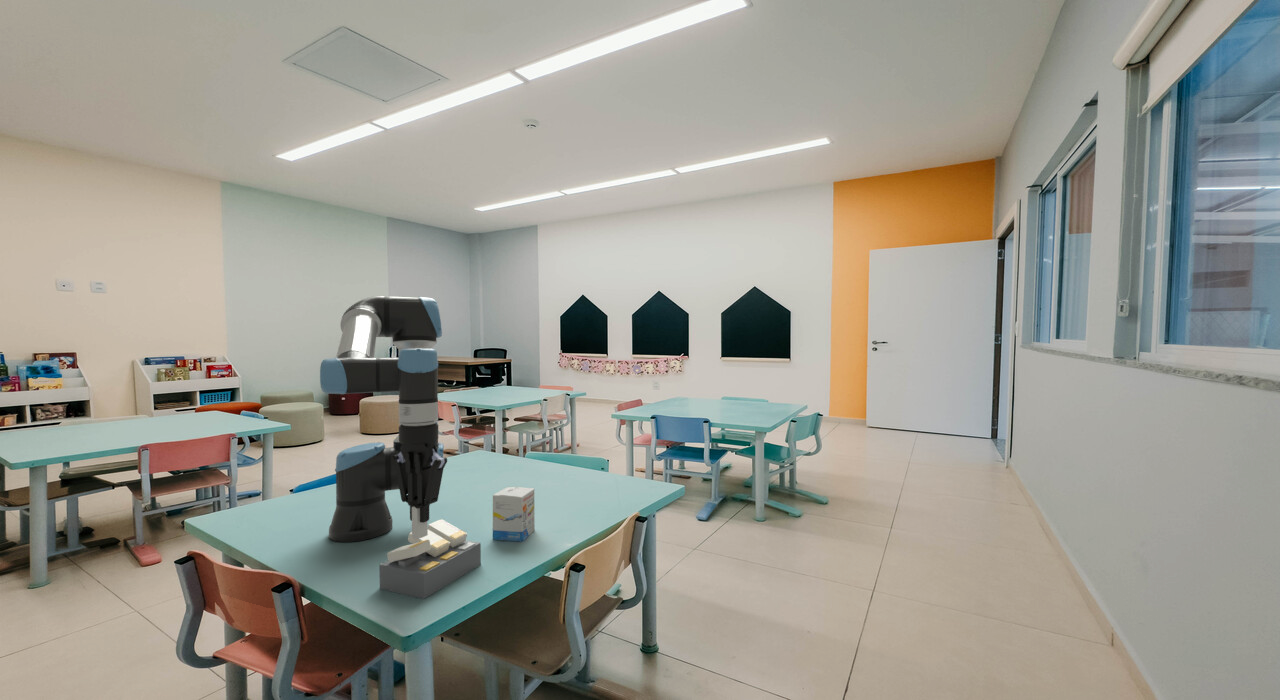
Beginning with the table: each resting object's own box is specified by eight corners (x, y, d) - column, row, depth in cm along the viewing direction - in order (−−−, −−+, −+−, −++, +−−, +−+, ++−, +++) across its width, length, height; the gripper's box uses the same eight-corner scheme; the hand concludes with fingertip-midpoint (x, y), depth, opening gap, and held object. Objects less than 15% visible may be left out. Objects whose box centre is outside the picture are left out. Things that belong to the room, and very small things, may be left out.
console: (379, 588, 106) (379, 559, 106) (440, 556, 121) (439, 531, 121) (424, 598, 101) (423, 568, 101) (480, 564, 117) (480, 538, 117)
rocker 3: (426, 532, 116) (428, 523, 116) (439, 526, 120) (441, 518, 120) (453, 547, 114) (455, 539, 113) (465, 541, 117) (467, 533, 117)
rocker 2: (407, 540, 111) (409, 532, 111) (421, 534, 115) (423, 526, 115) (434, 557, 108) (436, 548, 108) (448, 550, 112) (450, 541, 112)
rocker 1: (388, 562, 106) (386, 552, 106) (404, 555, 110) (401, 545, 110) (416, 556, 103) (414, 546, 103) (431, 548, 107) (428, 539, 107)
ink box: (522, 542, 130) (521, 496, 130) (491, 539, 132) (491, 494, 132) (535, 530, 139) (535, 487, 139) (506, 528, 140) (506, 485, 140)
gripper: (380, 424, 104) (381, 539, 104) (429, 427, 99) (430, 547, 99) (409, 419, 111) (410, 527, 111) (456, 421, 106) (457, 534, 106)
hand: (419, 536), depth 105 cm, fingers closed
